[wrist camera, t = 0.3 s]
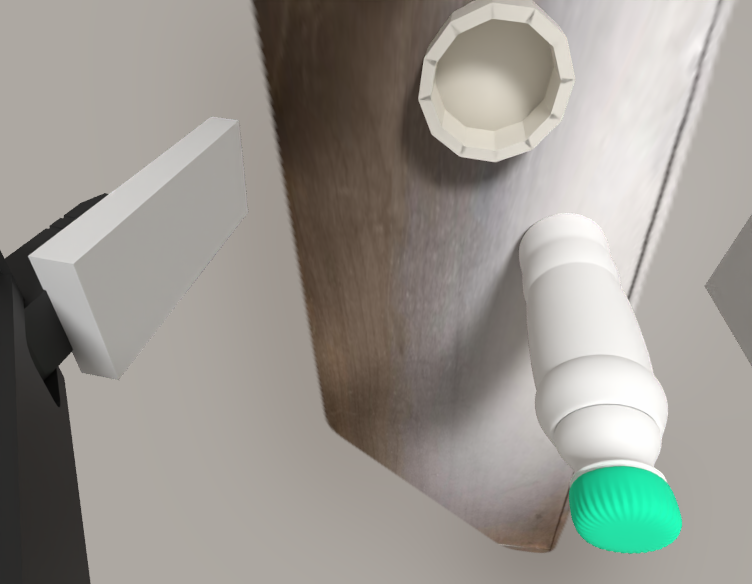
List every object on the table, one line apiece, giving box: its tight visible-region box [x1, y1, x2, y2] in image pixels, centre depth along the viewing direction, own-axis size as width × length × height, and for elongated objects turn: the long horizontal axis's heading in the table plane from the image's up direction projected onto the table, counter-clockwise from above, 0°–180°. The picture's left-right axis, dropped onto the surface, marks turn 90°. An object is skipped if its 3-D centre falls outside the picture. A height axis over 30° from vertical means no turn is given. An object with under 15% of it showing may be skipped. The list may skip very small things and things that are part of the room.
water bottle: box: [519, 213, 682, 554], centre depth 32 cm, size 7×7×25 cm
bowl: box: [418, 0, 575, 162], centre depth 32 cm, size 9×9×4 cm
